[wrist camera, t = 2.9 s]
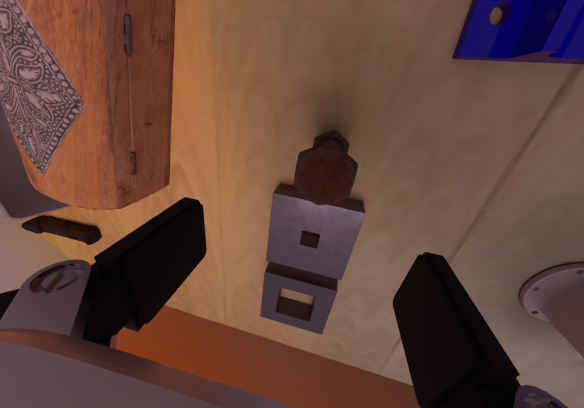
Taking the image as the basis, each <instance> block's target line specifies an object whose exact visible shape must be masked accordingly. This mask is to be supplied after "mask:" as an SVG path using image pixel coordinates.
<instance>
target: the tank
mask: <svg viewBox="0 0 584 408" xmlns="http://www.w3.org/2000/svg"><path fill="white" fill-rule="evenodd" d="M68 207H71V205H68V204H65V203H62V202H59V201H57V200H54V199H52V198H50V197H48V196H46V195H44V194H42V193H40V192H39V191H37V190H36V189H35V188H34V187H33V185H32V184H31V182H30V181H29V178H28V176H27V173H26V170H25V167H24V164H23V161H22V158H21V156H20V153H19V150H18V147H17V145H16V142H15V139H14V136H13V134H12V131H11V128H10V125H9V123H8V120H7V117H6V114H5V111H4V109H3V106H2V104H1V102H0V216H1V217H5V218H9V219H13V220H23V219H27V218H31V217H34V216H38V215H42V214H45V213H49V212H53V211H57V210H60V209H64V208H68Z"/></svg>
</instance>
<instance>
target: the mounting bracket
mask: <svg viewBox="0 0 584 408" xmlns="http://www.w3.org/2000/svg"><path fill="white" fill-rule="evenodd" d="M494 7H498V8H500V9H501V10H502V18H501V20H500V22H499V23H498V25H496V26H495V25H492V24H491V23H490V20H489V17H490V13H491V11H492V10H493V8H494ZM452 59H466V60H490V61H515V62H539V63H564V64H584V0H473V1H472V4H471V6H470V9H469V12H468V15H467V18H466V21H465V24H464V26H463V29H462V32H461V35H460V38H459V41H458V44H457V46H456V49H455V52H454V55H453V58H452Z"/></svg>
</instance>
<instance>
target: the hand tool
mask: <svg viewBox="0 0 584 408" xmlns="http://www.w3.org/2000/svg"><path fill="white" fill-rule="evenodd" d="M22 227H23V228H24V229H26V230H28V231H31V232H34V233H38V234H40V233H43V232H47V233H52V234H55V235H59V236H63V237H67V238H70V239H74V240H78V241H82V242H85V243H86V244H87V245H91V244H93V243H95V242H97V241H98V240H100V238H101V237H102V235H101V232H100V230H99V229H98V228H97V227H94V228H93V227H92V226H90V227H85V226H80V225H76V224H73V223H68V222H64V221H59V220H57V219H56V218H55V217H52V216H38V217H35V218H33V219H30V220H28V221H26V222H24V223H23V224H22Z"/></svg>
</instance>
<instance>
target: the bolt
mask: <svg viewBox="0 0 584 408" xmlns="http://www.w3.org/2000/svg"><path fill="white" fill-rule="evenodd" d="M348 148H349V143H348V142H347V141H346V140H345V139H344V138H343V137H342V136H341V135H340V134H339V133H338V132H336V131H335V130H333V131H330V132H327V133H324V134H322V135H319V136H317V137H316V138H315V140H314V145H313V148H310V149H307V150H304V151H302V152H300V153H299V155H298V160H297V164H296V170H295V177H294V187H295V188H296V189H297V190H298V191H299V192H300V193H301V194H302V195H303V196H304V197H305V198H306V199H308V200H309V201H311V202H312V203H314V204H316V205H327V204H332V203H336V202H339V201H342V200H344V199H346V198H348V197H349V195H350V193H351V189H352V186H353V183H354V180H355V176H356V172H357V168H358V165H357V162H356V161H354V160H353V159H352V158H351V157H350V156H349V155H348V154H347V152H348Z"/></svg>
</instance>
